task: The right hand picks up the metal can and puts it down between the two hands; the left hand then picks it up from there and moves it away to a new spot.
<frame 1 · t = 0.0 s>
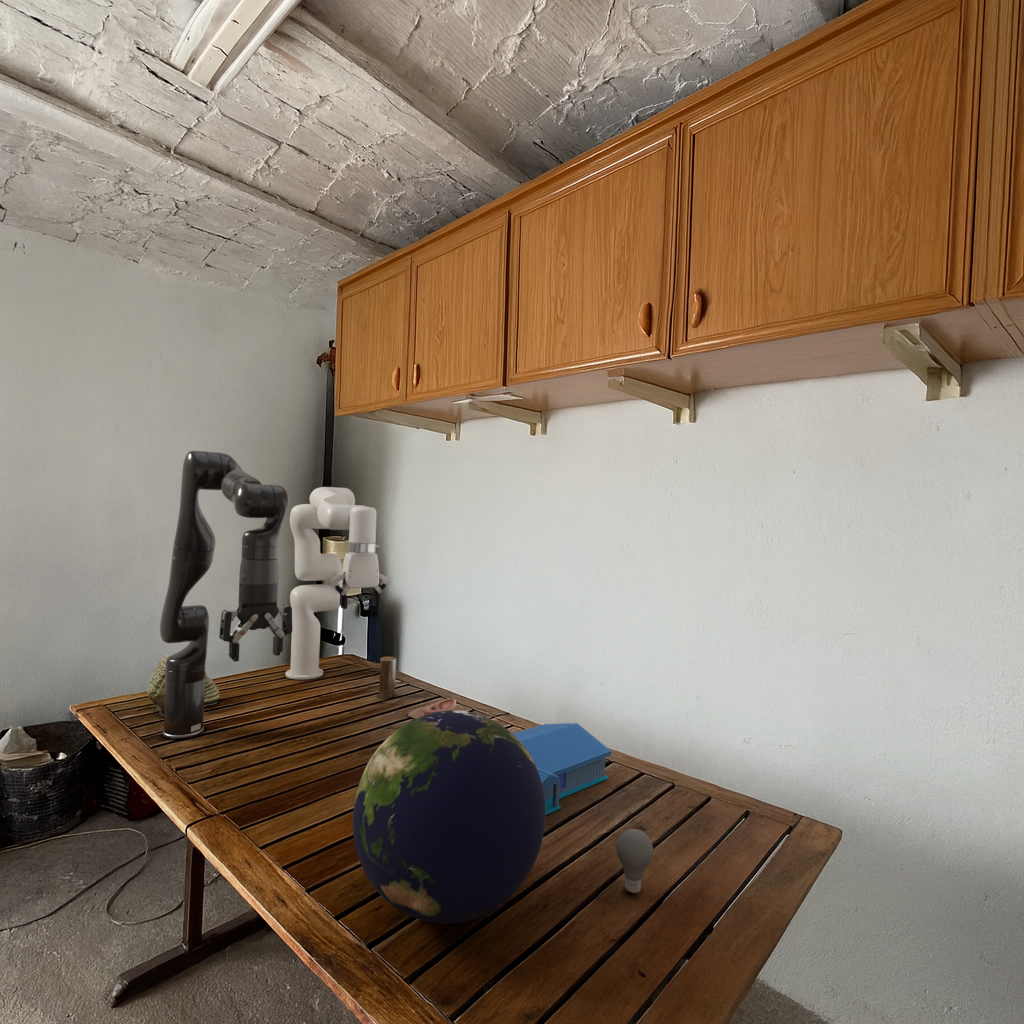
left hand: (256, 657, 132), 29 cm above the table, tool pointing down, fingers open, 8 cm apart
right hand: (359, 607, 185), 31 cm above the table, tool pointing down, fingers open, 9 cm apart
light bulb: (632, 891, 106), on the table
fossil: (183, 706, 185), on the table
model building: (521, 787, 142), on the table
can: (386, 696, 203), on the table
anatomical model: (432, 715, 187), on the table
globe: (446, 905, 100), on the table
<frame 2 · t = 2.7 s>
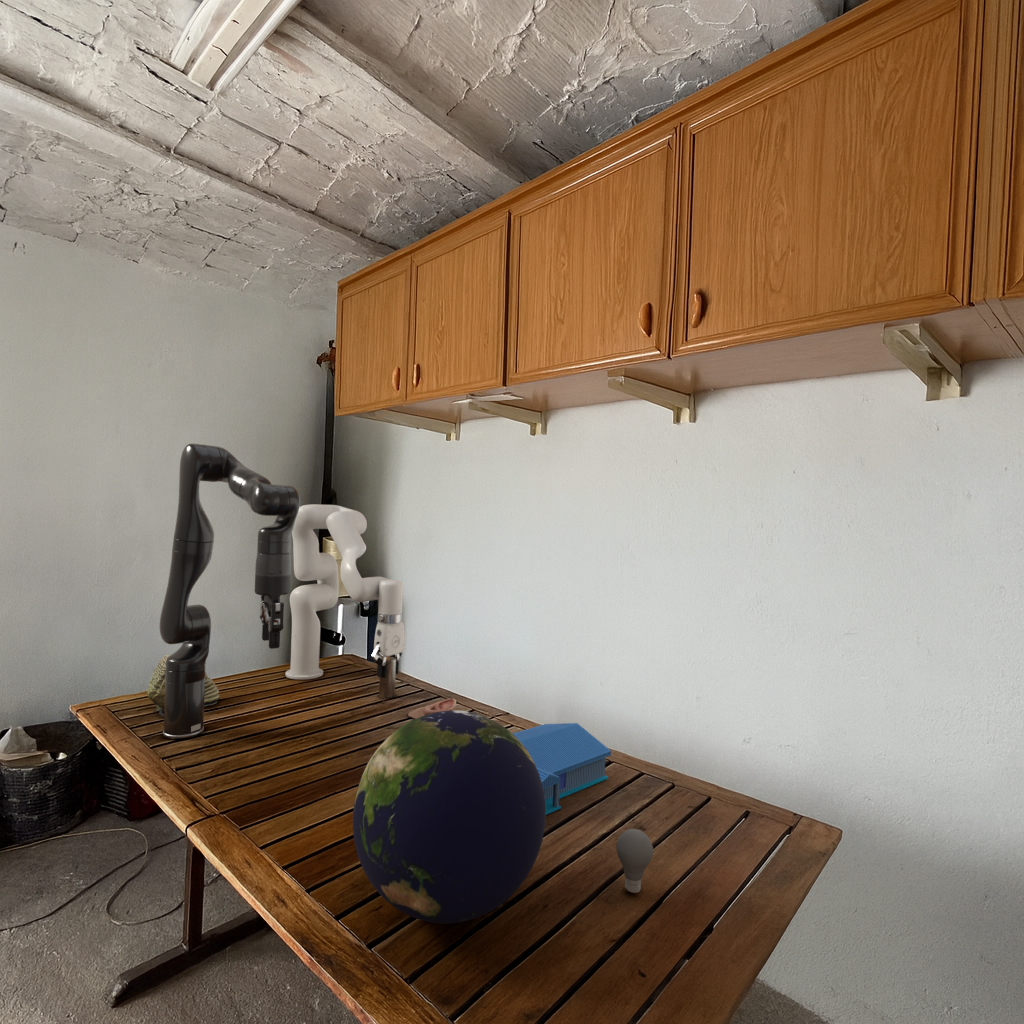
left hand: (270, 644, 144), 29 cm above the table, tool pointing down, fingers open, 8 cm apart
right hand: (387, 674, 202), 7 cm above the table, tool pointing down, fingers closed on can, 5 cm apart
can: (386, 696, 203), on the table, touching right hand
everything else where it was.
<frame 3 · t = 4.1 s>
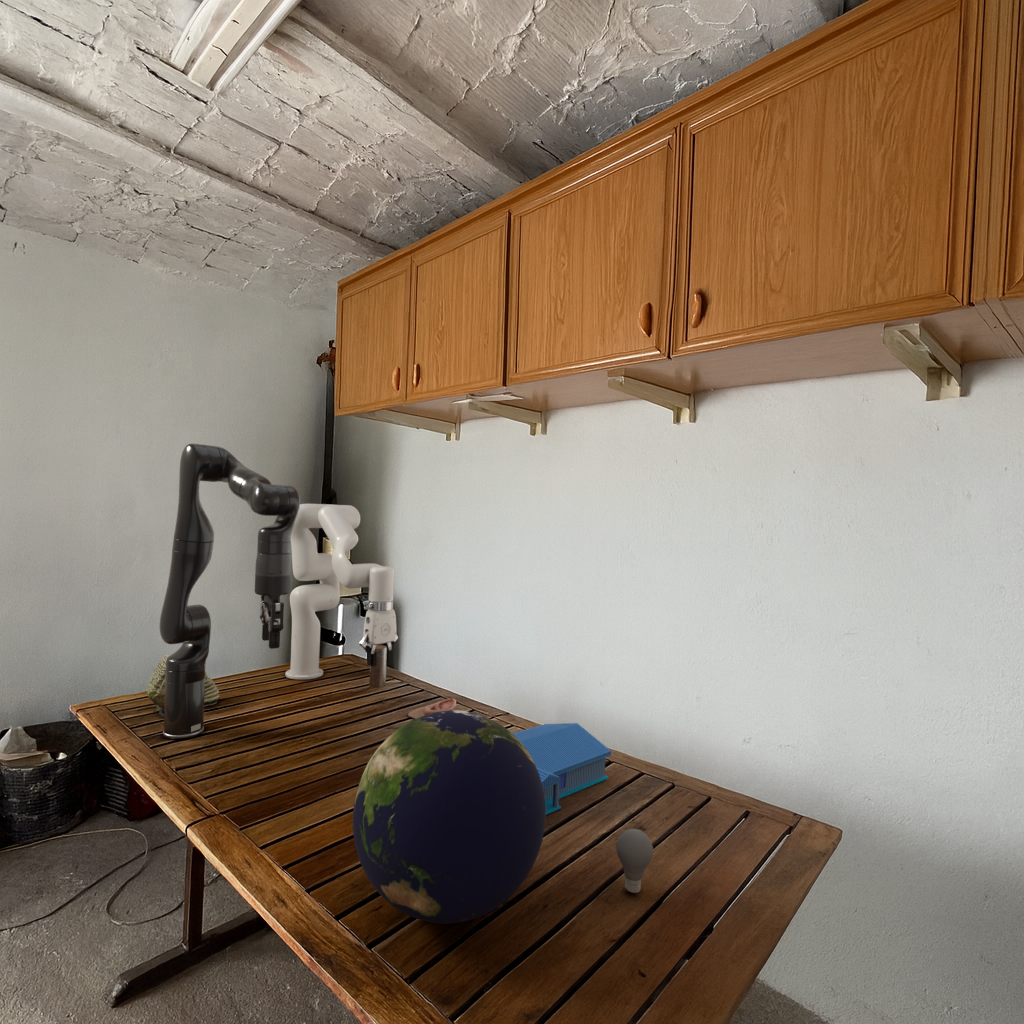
left hand: (270, 644, 144), 29 cm above the table, tool pointing down, fingers open, 8 cm apart
right hand: (378, 663, 198), 12 cm above the table, tool pointing down, fingers closed on can, 5 cm apart
can: (377, 685, 198), point 5 cm above the table, touching right hand
everything else where it was.
when the right hand's fingers open (8 cm above the table, at t = 5.7 s): can drops 2 cm, on the table.
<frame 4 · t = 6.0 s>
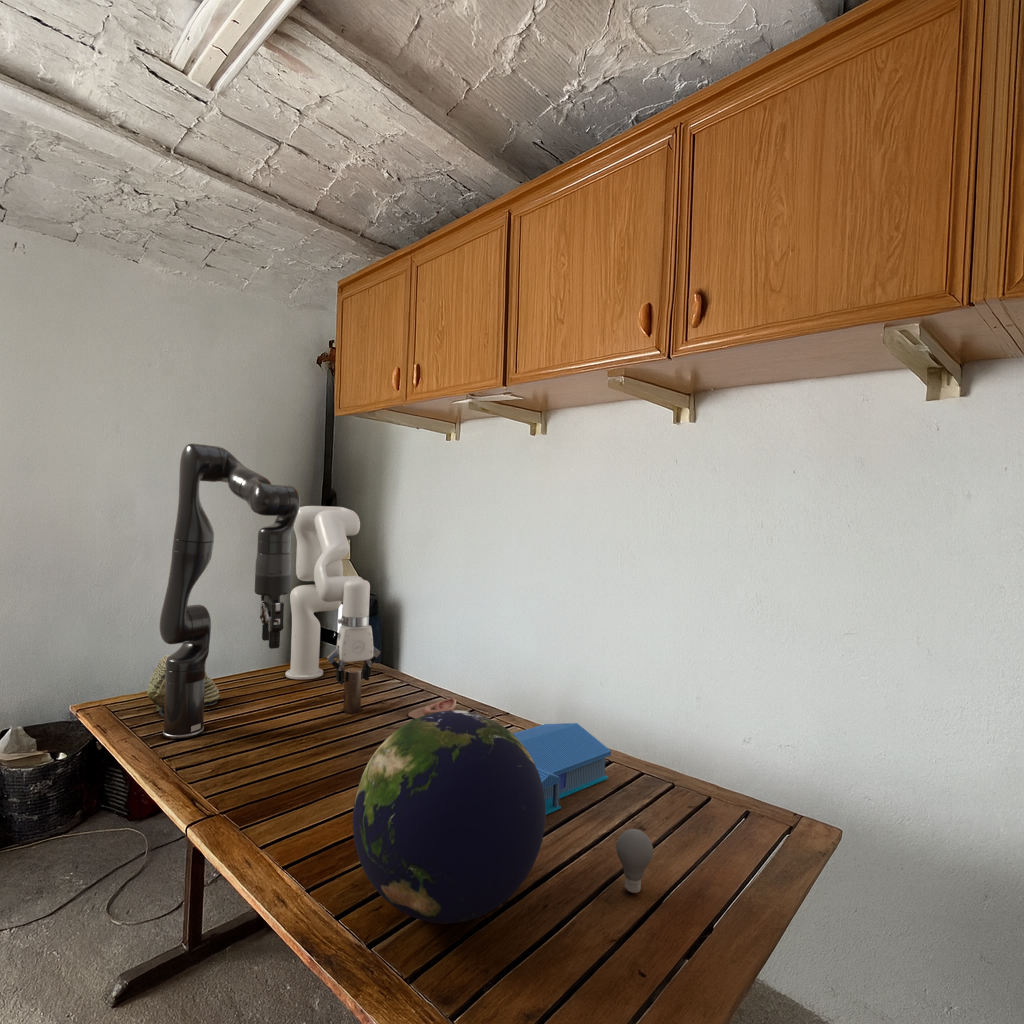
left hand: (270, 644, 144), 29 cm above the table, tool pointing down, fingers open, 8 cm apart
right hand: (353, 680, 188), 9 cm above the table, tool pointing down, fingers open, 7 cm apart
can: (351, 710, 188), on the table
everything else where it was.
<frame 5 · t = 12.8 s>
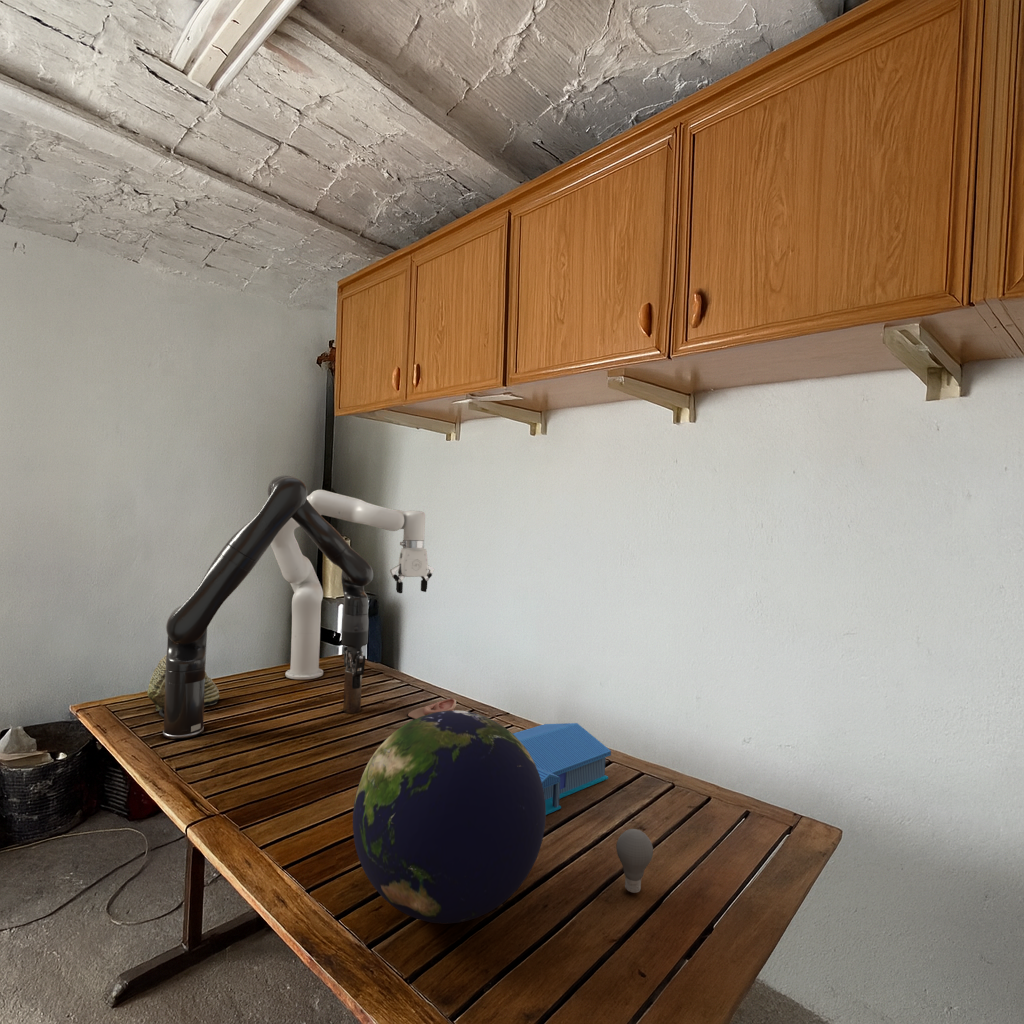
left hand: (353, 685, 188), 8 cm above the table, tool pointing down, fingers closed on can, 5 cm apart
right hand: (411, 592, 229), 30 cm above the table, tool pointing down, fingers open, 9 cm apart
can: (351, 710, 188), on the table, touching left hand
everything else where it was.
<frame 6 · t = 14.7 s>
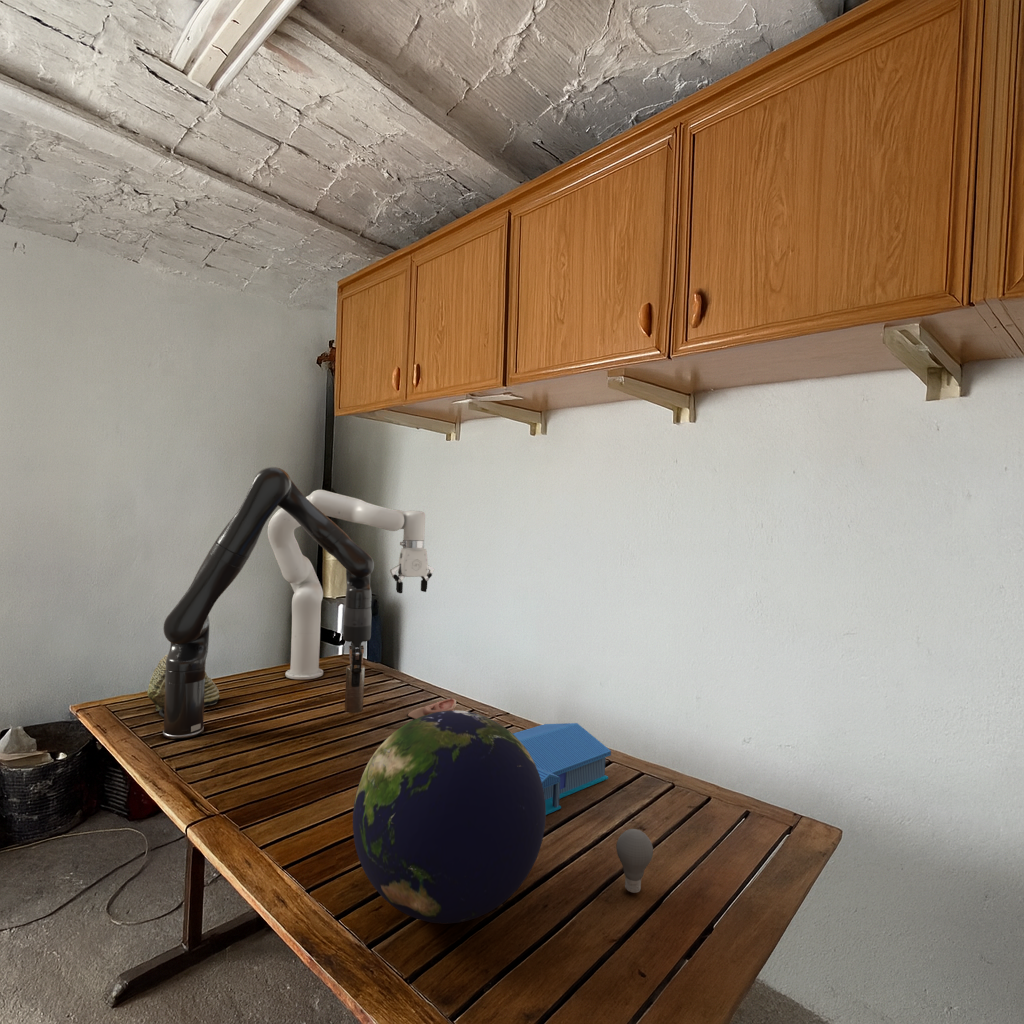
left hand: (354, 683, 176), 11 cm above the table, tool pointing down, fingers closed on can, 5 cm apart
right hand: (411, 592, 229), 30 cm above the table, tool pointing down, fingers open, 9 cm apart
can: (353, 710, 177), point 4 cm above the table, touching left hand
everything else where it was.
when the left hand's fingers open (9 cm above the table, at t = 16.4 s): can drops 2 cm, on the table.
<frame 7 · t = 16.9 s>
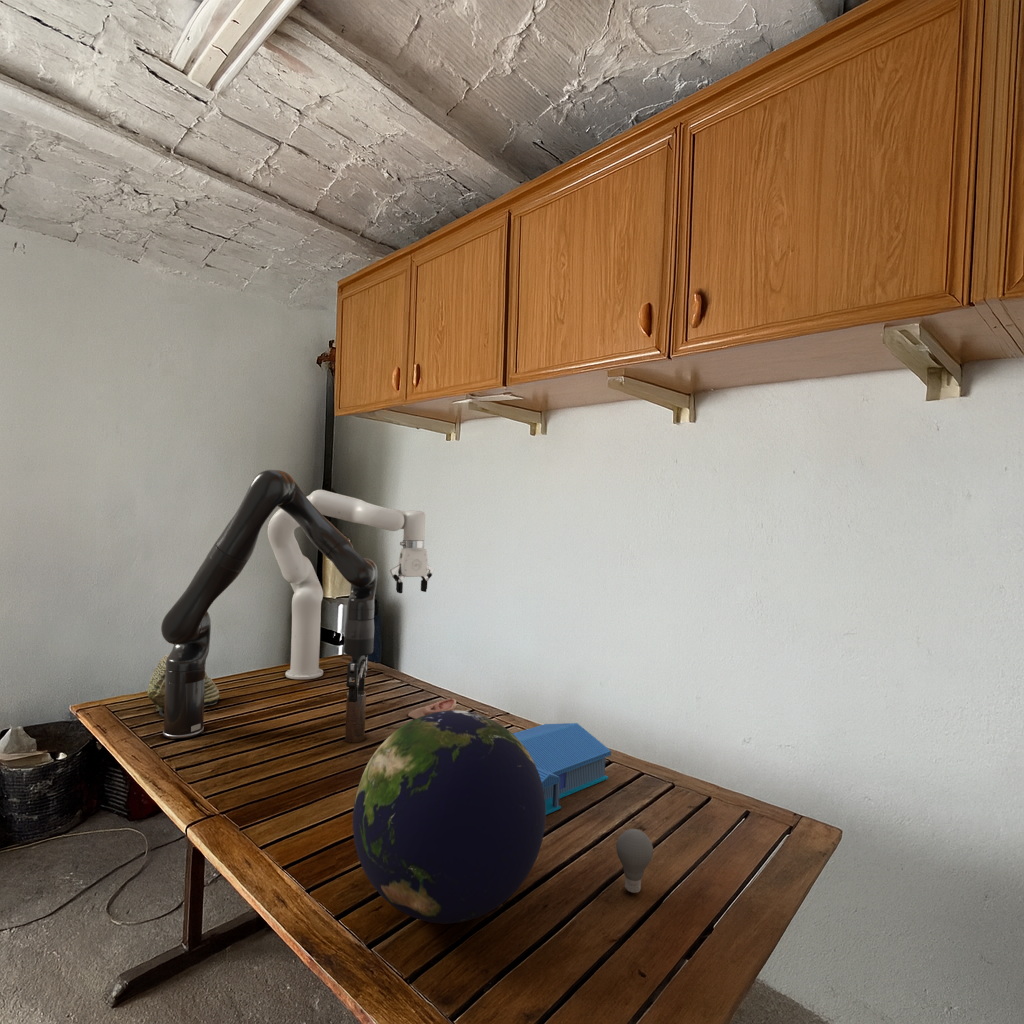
left hand: (356, 696, 166), 11 cm above the table, tool pointing down, fingers open, 8 cm apart
right hand: (411, 592, 229), 30 cm above the table, tool pointing down, fingers open, 9 cm apart
can: (354, 738, 166), on the table
everything else where it was.
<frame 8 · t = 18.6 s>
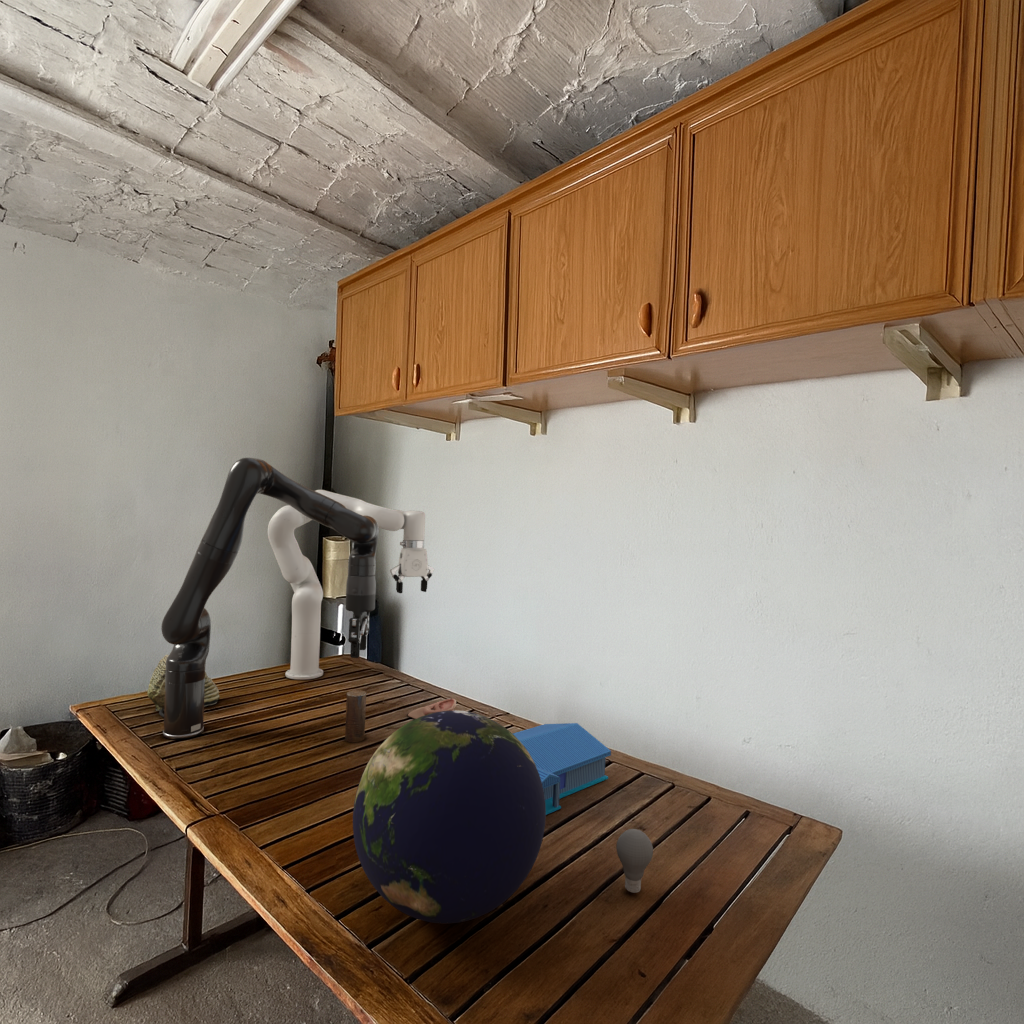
left hand: (358, 653, 166), 22 cm above the table, tool pointing down, fingers open, 8 cm apart
right hand: (411, 592, 229), 30 cm above the table, tool pointing down, fingers open, 9 cm apart
nothing on the table moved.
at the end: can inside the target area (0.1 cm from its centre), on the table; can tilted 0°; the two hands never held the can at the same time; the left hand is holding nothing; the right hand is holding nothing; can at rest at the end (0.0 cm/s) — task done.
